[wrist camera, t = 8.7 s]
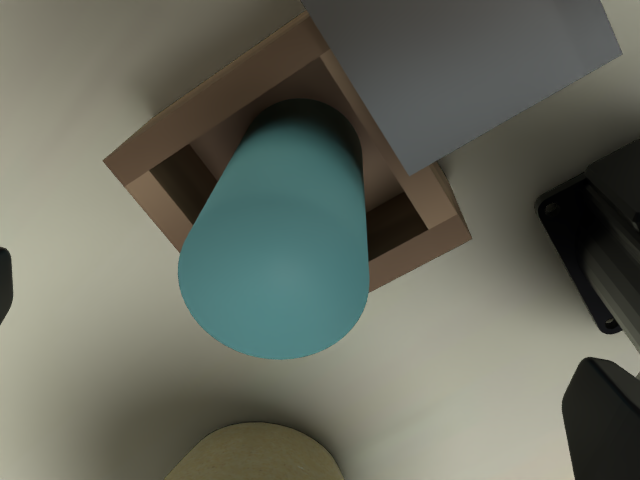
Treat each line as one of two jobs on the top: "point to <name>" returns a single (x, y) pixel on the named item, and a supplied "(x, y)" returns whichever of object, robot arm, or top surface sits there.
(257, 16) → the top surface
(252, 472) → the plant pot
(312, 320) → the peg
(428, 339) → the top surface
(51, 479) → the top surface
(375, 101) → the brown wooden open box
